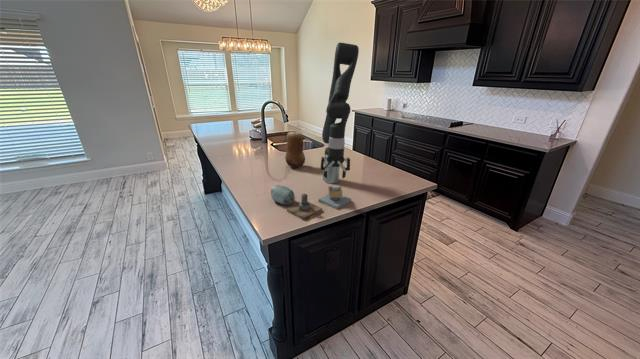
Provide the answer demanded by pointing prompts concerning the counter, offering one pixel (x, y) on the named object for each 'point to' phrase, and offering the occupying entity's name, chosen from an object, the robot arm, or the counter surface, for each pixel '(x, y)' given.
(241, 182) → the counter surface
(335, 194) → the square wooden frame
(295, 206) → the stand
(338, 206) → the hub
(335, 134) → the robot arm
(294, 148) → the butternut squash
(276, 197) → the teal-grey streaked oval part
